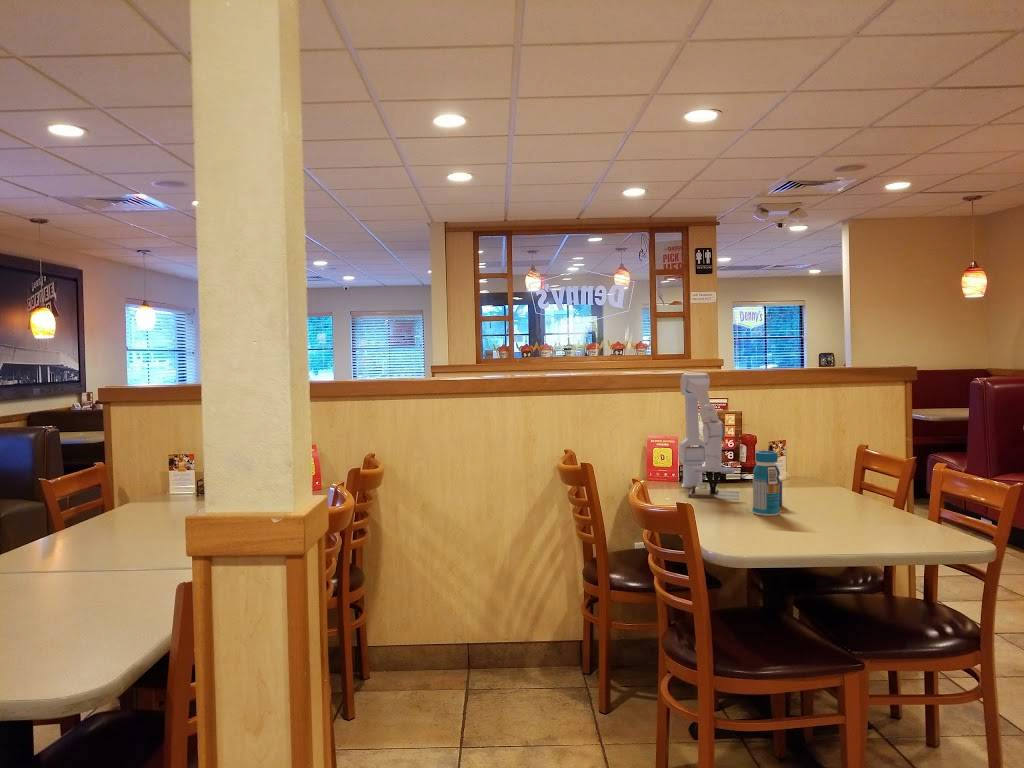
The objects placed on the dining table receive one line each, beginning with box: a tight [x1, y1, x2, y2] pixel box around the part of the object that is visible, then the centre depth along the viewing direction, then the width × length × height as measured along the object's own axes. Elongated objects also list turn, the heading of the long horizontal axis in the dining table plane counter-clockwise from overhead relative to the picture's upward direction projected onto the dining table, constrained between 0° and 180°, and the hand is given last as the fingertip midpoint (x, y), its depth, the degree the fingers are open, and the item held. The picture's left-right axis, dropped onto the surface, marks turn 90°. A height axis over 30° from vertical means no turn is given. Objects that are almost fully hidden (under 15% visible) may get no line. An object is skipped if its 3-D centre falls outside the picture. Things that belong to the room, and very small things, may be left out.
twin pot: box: [697, 481, 711, 490], centre depth 281 cm, size 5×5×3 cm
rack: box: [686, 486, 741, 501], centre depth 276 cm, size 17×18×2 cm
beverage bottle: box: [751, 450, 781, 517], centre depth 244 cm, size 8×8×20 cm
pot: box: [695, 486, 710, 495], centre depth 274 cm, size 5×5×3 cm
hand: (713, 493), depth 273 cm, fingers closed
